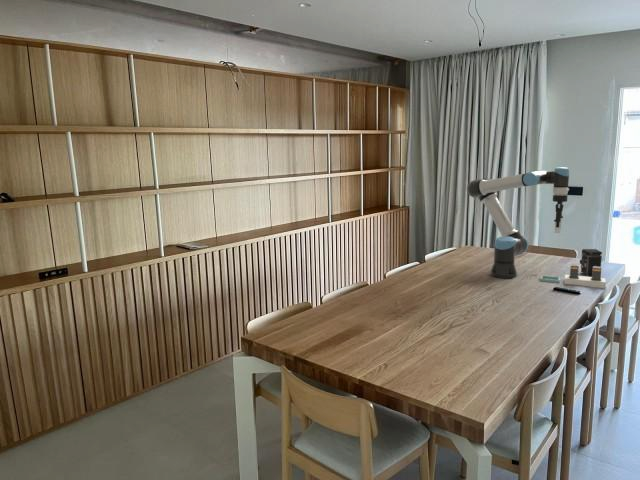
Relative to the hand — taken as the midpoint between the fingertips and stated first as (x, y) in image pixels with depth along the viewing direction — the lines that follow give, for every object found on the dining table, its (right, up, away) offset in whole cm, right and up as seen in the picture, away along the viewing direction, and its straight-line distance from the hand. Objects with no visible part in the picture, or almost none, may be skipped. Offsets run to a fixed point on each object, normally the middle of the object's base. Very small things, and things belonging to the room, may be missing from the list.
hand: (557, 231), depth 272 cm
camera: (+26, -26, +14) cm, 39 cm away
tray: (-4, -29, +1) cm, 29 cm away
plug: (+7, -29, -5) cm, 31 cm away
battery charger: (+11, -30, -7) cm, 33 cm away
